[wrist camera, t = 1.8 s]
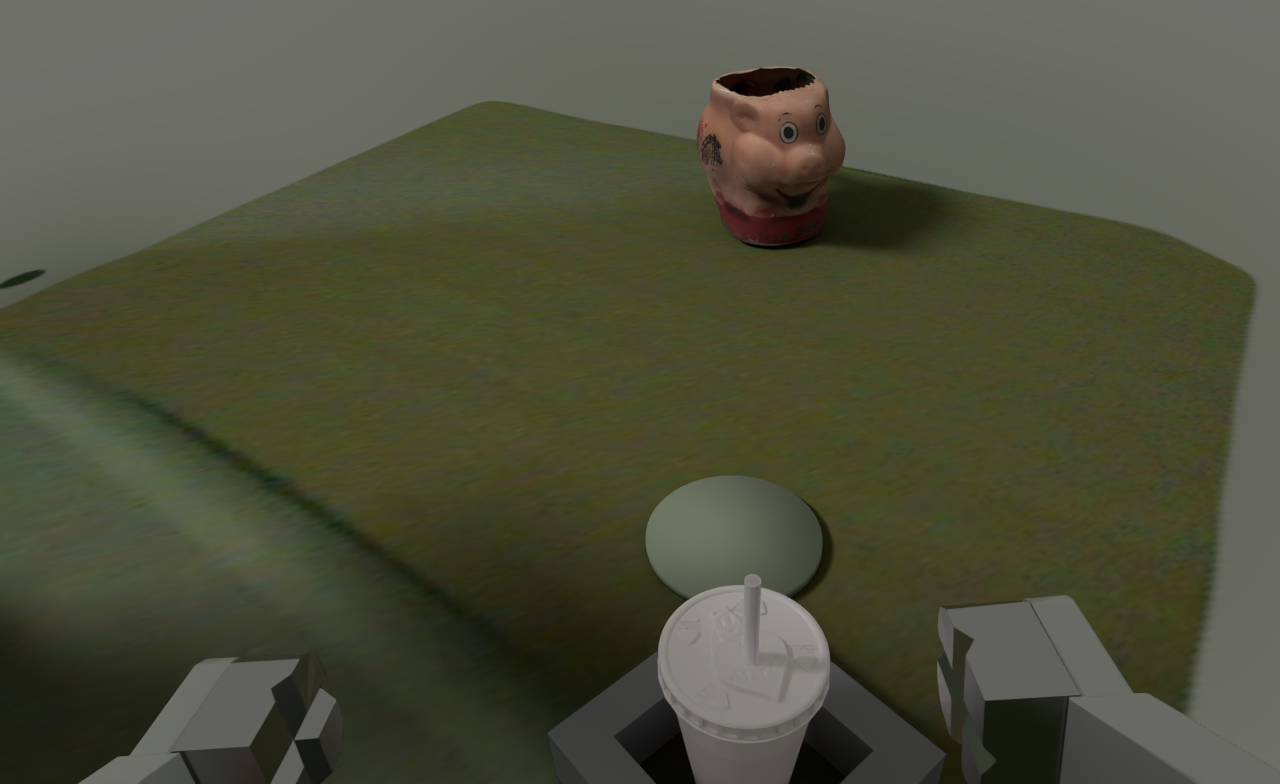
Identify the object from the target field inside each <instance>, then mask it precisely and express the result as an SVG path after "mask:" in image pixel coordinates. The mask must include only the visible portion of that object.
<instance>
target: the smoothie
mask: <svg viewBox="0 0 1280 784" xmlns="http://www.w3.org/2000/svg"><path fill="white" fill-rule="evenodd" d="M657 663H658V680H659V683H660V685H661V688H662V691H663V693H664V696H665V699H666V700H667V701H668V703H669V704H670V705H671V707H672V708H673V709H674V711H675V712H676V715H677V717H678V721H679V725H680V728H681V732H682V736H683V739H684V743H685V746H686V750H687V754H688V757H689V761H690V765H691V768H692V772H693V775H694V779H695V783H696V784H789V781H790V778H791V775H792V772H793V769H794V766H795V763H796V760H797V757H798V754H799V751H800V748H801V745H802V741H803V738H804V735H805V732H806V729H807V726H808V724H809V721H810V720H811V719H812V718H813V716H814V715H815V714H816V713H817V712H818V710H819V709H820V708H821V707H822V704H823V702H824V699H825V697H826V694H827V692H828V689H829V679H830V652H829V647H828V643H827V640H826V638H825V635H824V633H823V631H822V629H821V628H820V626H819V624H818V623H817V622H816V620H815V619H814V618H813V617H812V615H811V614H810V613H809V612H808V611H807V610H806V609H804V608H803V607H802V606H801V605H799V604H798V603H797V602H795V601H794V600H792V599H790V598H788V597H787V596H785V595H782V594H780V593H778V592H775V591H772V590H769V589H766V588H761V578H760V577H759V576H757V575H755V574H750V575H747V576H746V577H745V580H744V585H731V586H723V587H718V588H714V589H710V590H707V591H705V592H702V593H700V594H698V595H696V596H694V597H692V598H690V599H689V600H688V601H686V602H685V603H683V604H682V605H681V606H680V607H679V608H678V609H677V610H676V611H675V612H674V613H673V614H672V615H671V617H670V618H669V620H668V621H667V623H666V624H665V626H664V629H663V631H662V634H661V636H660V641H659V647H658V660H657Z"/></svg>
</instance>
